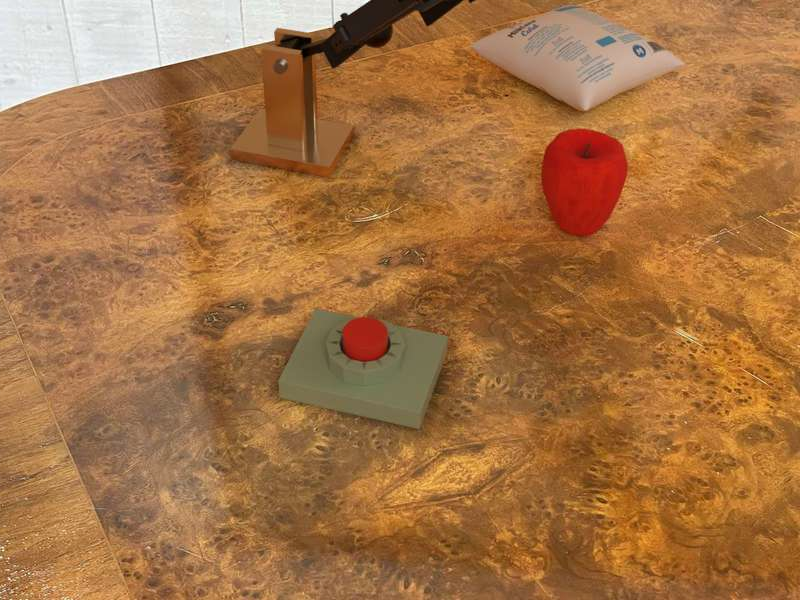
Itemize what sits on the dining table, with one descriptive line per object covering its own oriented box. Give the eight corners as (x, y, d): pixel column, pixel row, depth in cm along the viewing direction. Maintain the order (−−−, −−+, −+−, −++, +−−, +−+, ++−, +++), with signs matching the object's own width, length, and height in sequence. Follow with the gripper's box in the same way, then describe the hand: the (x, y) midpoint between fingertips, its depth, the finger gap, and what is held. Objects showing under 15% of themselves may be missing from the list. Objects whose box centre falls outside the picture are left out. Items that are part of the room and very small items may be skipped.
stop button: (336, 356, 94) (336, 342, 93) (350, 327, 97) (350, 313, 96) (380, 366, 93) (380, 352, 92) (392, 336, 96) (393, 322, 95)
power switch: (354, 135, 127) (353, 30, 118) (330, 177, 121) (326, 69, 112) (260, 119, 130) (251, 14, 120) (231, 159, 123) (220, 51, 114)
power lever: (402, 33, 114) (388, 2, 112) (392, 49, 111) (379, 18, 109) (291, 65, 120) (276, 36, 118) (279, 80, 117) (264, 52, 116)
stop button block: (279, 397, 95) (276, 366, 93) (316, 324, 103) (314, 293, 100) (419, 429, 93) (421, 398, 90) (447, 352, 100) (449, 321, 97)
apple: (518, 214, 116) (528, 130, 109) (583, 192, 120) (596, 109, 112) (566, 260, 111) (580, 174, 103) (632, 236, 114) (650, 151, 107)
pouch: (693, 34, 132) (572, -27, 142) (590, 88, 122) (469, 19, 133) (680, 89, 137) (565, 26, 148) (580, 145, 128) (465, 74, 138)
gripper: (414, 23, 88) (304, 108, 106) (601, -60, 101) (475, 28, 119) (370, -60, 87) (267, 41, 105) (564, -132, 101) (443, -32, 119)
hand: (377, 34), depth 112 cm, fingers open, 13 cm apart
